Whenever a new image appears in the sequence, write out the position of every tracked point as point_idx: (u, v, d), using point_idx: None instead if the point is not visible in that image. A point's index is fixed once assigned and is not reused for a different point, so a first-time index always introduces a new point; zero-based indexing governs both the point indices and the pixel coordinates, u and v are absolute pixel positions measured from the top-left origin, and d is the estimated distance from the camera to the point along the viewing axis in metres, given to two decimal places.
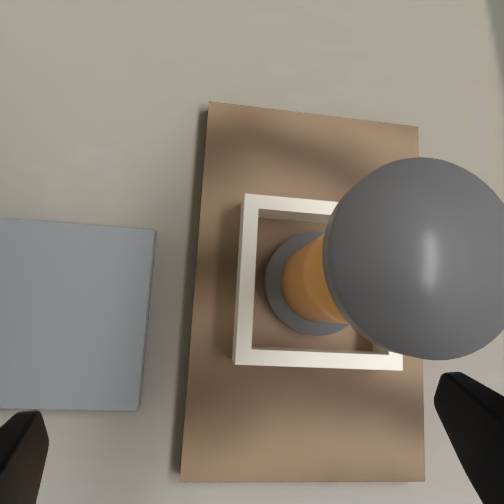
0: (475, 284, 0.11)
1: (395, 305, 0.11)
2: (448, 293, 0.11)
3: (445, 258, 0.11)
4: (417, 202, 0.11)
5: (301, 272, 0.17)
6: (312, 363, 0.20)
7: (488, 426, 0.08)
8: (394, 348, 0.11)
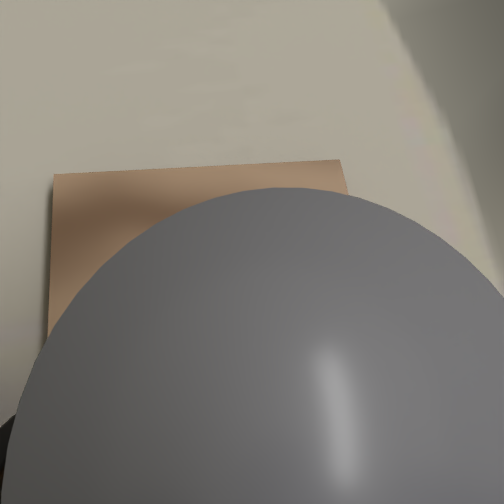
0: (456, 503, 0.04)
1: None
2: None
3: (354, 443, 0.04)
4: (254, 300, 0.04)
5: None
6: None
7: None
8: None
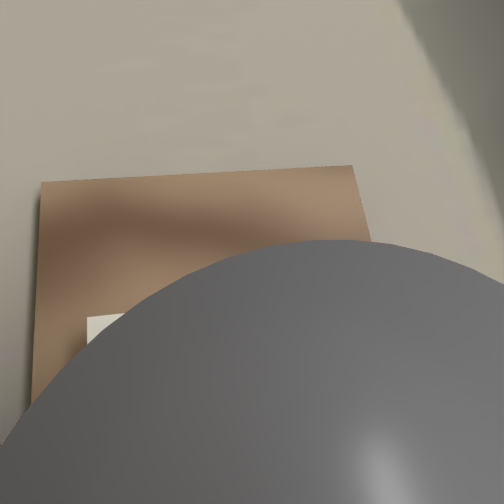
0: None
1: None
2: None
3: None
4: (290, 419, 0.03)
5: None
6: None
7: None
8: None
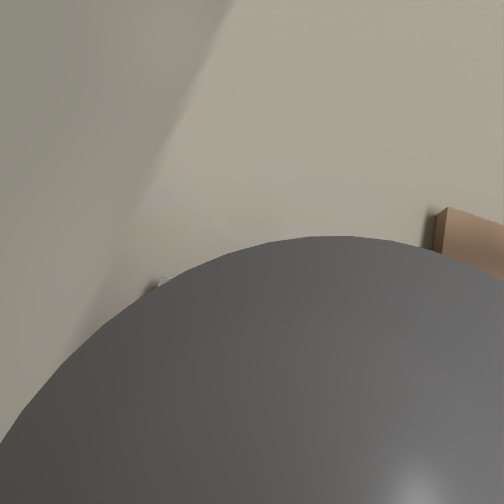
0: None
1: None
2: None
3: None
4: (289, 414, 0.03)
5: None
6: None
7: None
8: None
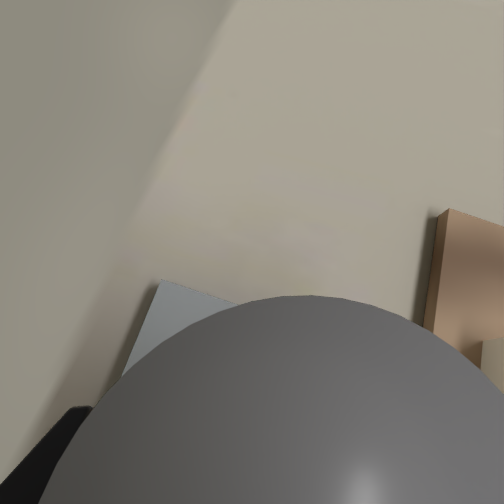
0: None
1: None
2: None
3: None
4: (263, 428, 0.04)
5: None
6: None
7: None
8: None
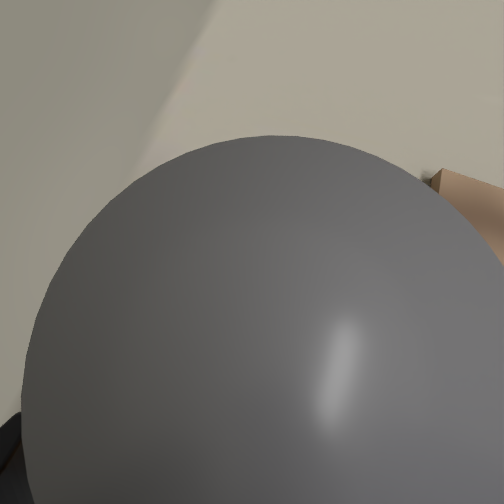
0: (434, 414, 0.04)
1: None
2: (369, 459, 0.04)
3: (342, 360, 0.04)
4: (251, 235, 0.05)
5: None
6: None
7: None
8: None
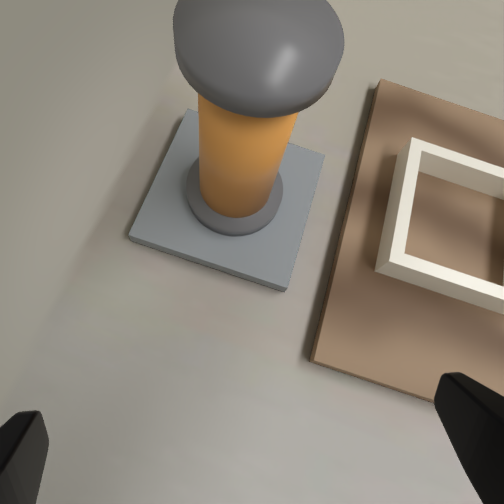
0: (302, 44, 0.13)
1: (233, 62, 0.13)
2: (279, 52, 0.13)
3: (272, 29, 0.13)
4: None
5: (199, 142, 0.19)
6: (456, 280, 0.22)
7: (488, 426, 0.08)
8: (237, 91, 0.12)
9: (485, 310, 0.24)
